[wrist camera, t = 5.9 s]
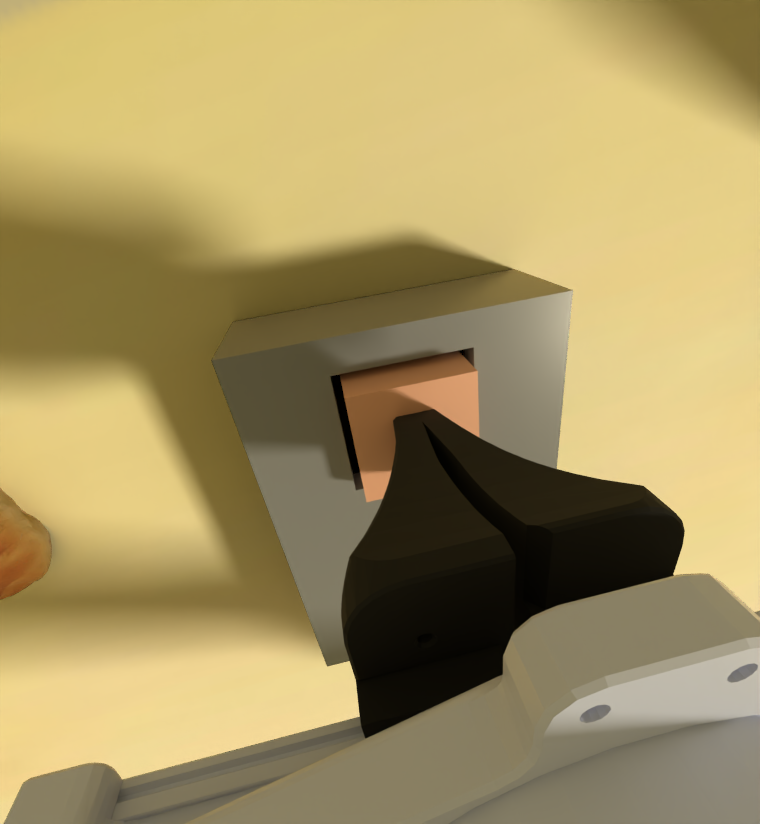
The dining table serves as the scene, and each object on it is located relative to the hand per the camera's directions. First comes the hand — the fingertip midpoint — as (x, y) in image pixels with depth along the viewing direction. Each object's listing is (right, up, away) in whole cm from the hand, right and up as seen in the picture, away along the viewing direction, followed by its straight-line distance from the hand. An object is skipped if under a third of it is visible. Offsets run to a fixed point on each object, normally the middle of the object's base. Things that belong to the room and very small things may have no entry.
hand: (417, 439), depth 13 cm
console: (0, -2, +7) cm, 7 cm away
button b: (-1, +2, +3) cm, 3 cm away
